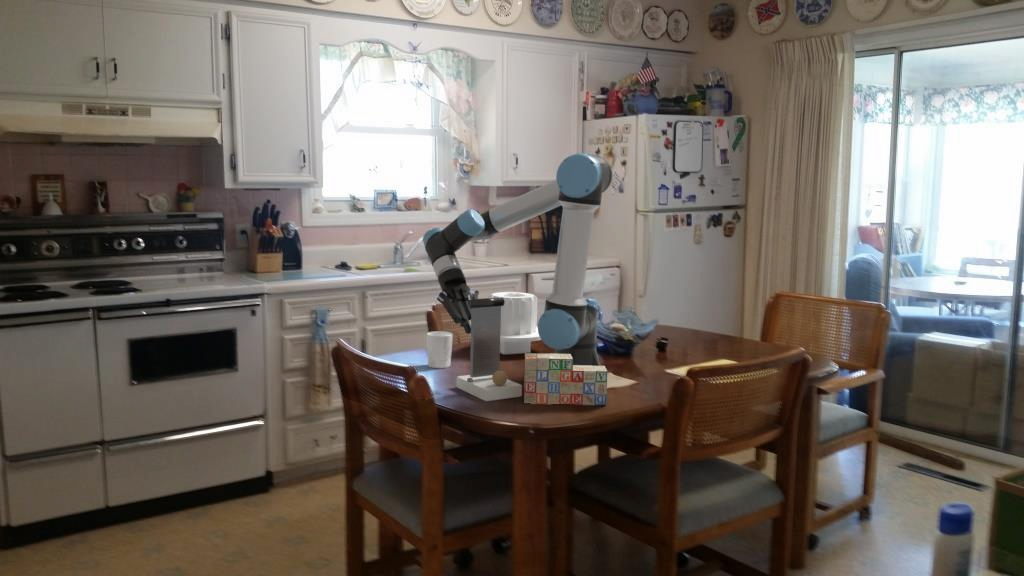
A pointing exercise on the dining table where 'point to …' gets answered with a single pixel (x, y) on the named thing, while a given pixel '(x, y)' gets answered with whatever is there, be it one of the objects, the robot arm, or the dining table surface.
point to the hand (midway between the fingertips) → (477, 341)
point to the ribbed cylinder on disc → (517, 322)
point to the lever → (485, 336)
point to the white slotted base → (490, 386)
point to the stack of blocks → (563, 381)
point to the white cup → (439, 349)
